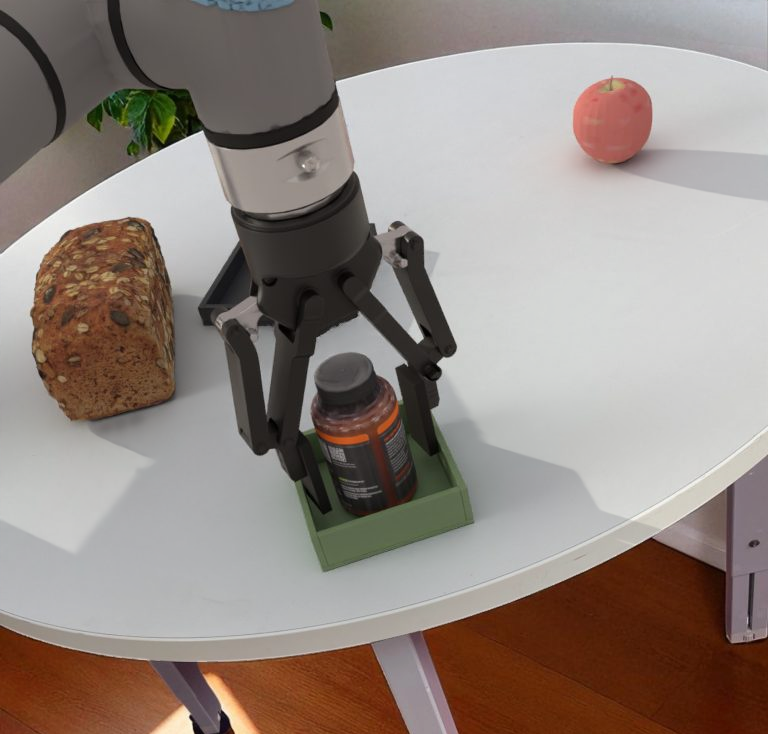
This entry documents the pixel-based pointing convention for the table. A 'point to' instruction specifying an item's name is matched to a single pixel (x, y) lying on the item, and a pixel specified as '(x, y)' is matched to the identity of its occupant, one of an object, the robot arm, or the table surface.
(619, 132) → the apple
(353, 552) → the bin
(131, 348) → the bread
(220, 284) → the black square tray
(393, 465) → the supplement bottle
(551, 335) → the table surface
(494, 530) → the table surface
